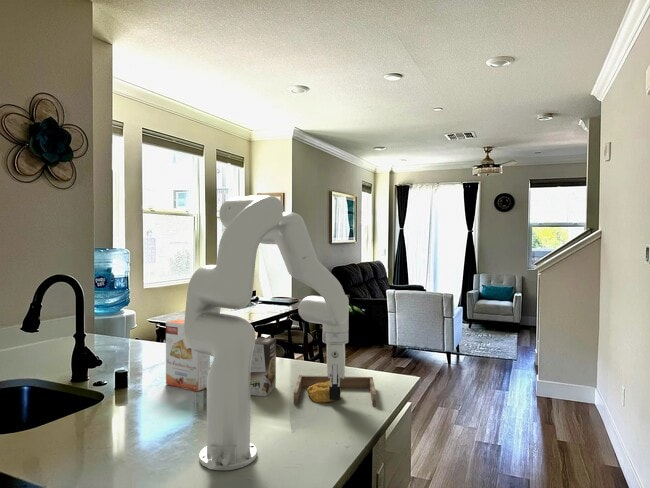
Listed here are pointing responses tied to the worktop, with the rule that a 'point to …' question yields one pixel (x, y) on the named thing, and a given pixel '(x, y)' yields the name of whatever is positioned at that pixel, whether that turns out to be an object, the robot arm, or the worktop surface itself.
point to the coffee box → (263, 367)
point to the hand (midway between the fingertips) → (334, 399)
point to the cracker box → (184, 360)
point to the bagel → (320, 392)
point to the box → (345, 383)
